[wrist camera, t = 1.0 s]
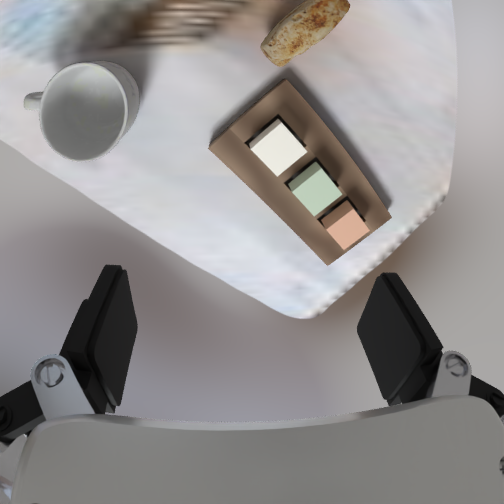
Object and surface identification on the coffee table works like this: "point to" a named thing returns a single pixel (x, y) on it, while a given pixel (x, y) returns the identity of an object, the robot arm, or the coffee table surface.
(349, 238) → the tile terracotta
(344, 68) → the coffee table surface
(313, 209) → the tile sage
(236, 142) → the brown tile tray
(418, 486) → the robot arm
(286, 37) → the bagel
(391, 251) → the coffee table surface
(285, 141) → the tile cream
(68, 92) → the teacup
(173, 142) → the coffee table surface
